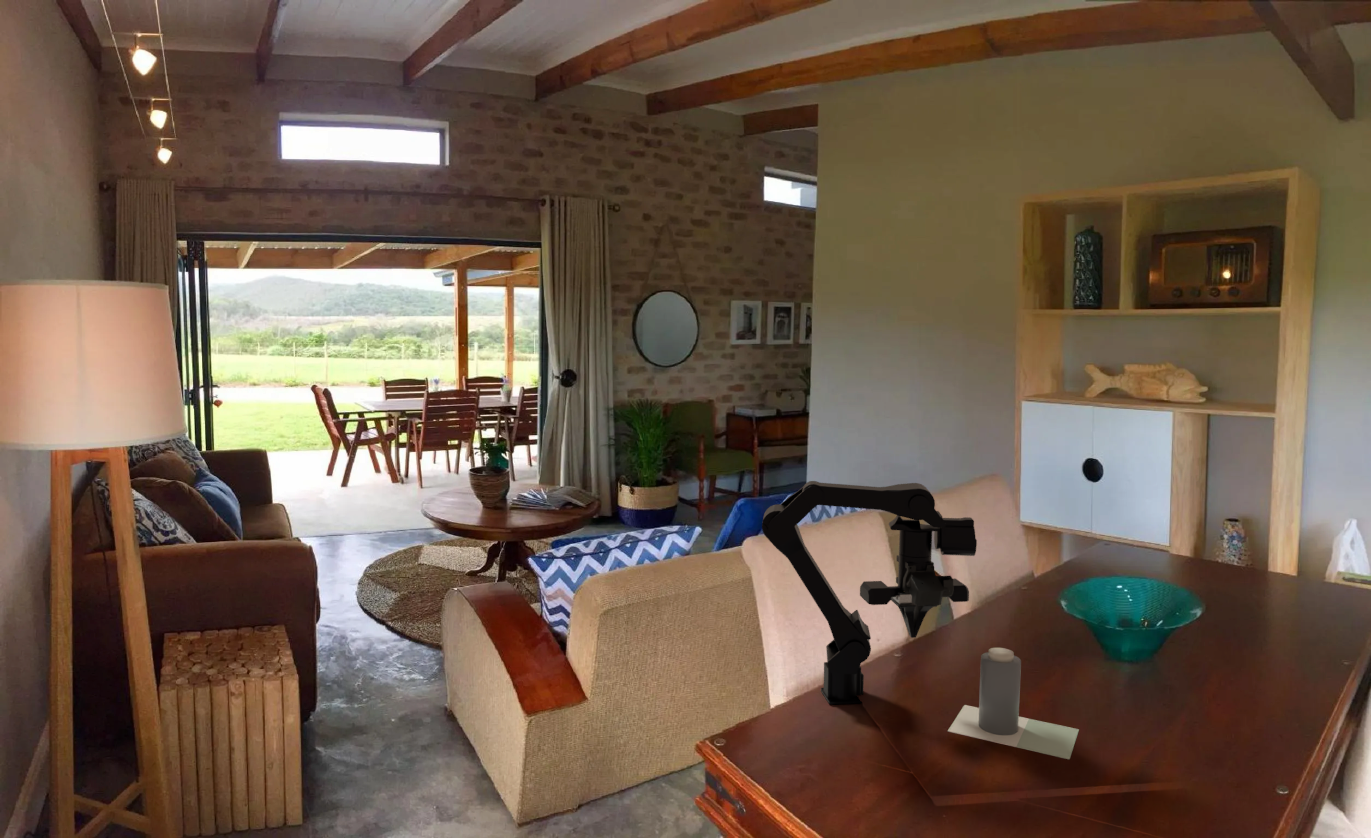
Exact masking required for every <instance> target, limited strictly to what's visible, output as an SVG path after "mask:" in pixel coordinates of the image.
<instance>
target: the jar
mask: <svg viewBox="0 0 1371 838" xmlns="http://www.w3.org/2000/svg"><path fill="white" fill-rule="evenodd" d="M1014 653H1015V652H1014V651H1013V650H1011V649H1008V648H1005V647H991V648H989V649H988V652H987V651H986V652H984V653H982V654H980V669H979V670H980V671H979V672H980V675H979V676H980V677H979V698H978V699H979V700H978V708H979V720H978V725H979V727H980V728H981V729H982V730H984V731H986V732H988V733H991V734H996V735H1013V734H1015V733H1017V732H1018V722H1019V717H1020V716H1019V715H1020V695H1021V694H1020V693H1021V692H1020V691H1021V670H1022V659H1021V658H1020V657H1018V656H1017V655H1014Z"/></svg>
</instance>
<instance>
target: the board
mask: <svg viewBox="0 0 1371 838" xmlns="http://www.w3.org/2000/svg"><path fill="white" fill-rule="evenodd" d="M978 720H979V707H977V706H971V705H967V704H964V705H963V706H962V708H961V710H960V711H959V712H958V714H957V716H956V717H955V719H954V721H953V722H952V724H951V725H950V727H949V728H948V730H947V732H949V733H953V734H956V735H957V734H958V735H960V736H961V735H962V736H966V737H971V738H973V739H980V740H984V741H986V742H987V741H988V742H992V743H997V744H1001V745H1006V746H1009V747H1014V748H1018V749H1023V750H1027V751H1032V752H1036V753H1040V754H1043V755H1048V756H1053V757H1056V758H1061V759H1065V760H1066V759H1067V760H1070V759H1071V756H1072V753H1073V750H1074V748H1075V747H1074V746H1075V743H1076V741H1077V737H1078V734H1079V731H1080V729H1078V728H1075V727H1074V728H1073V727H1069V726H1065V725H1060V724H1056V723H1051V722H1045V721H1041V720H1039V719H1038V720H1036V719H1033V718H1027V717H1023V716H1019V722H1018V732H1017V733H1015V734H1013V735H996V734H991V733H988V732H986V731H984V730H982V729H981V728H980V727H979V725H978Z"/></svg>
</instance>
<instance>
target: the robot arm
mask: <svg viewBox="0 0 1371 838" xmlns="http://www.w3.org/2000/svg"><path fill="white" fill-rule="evenodd" d="M817 506H827V507H839V508H840V507H841V508H852V509H864V510H865V509H866V510H875V511H877V510H879V511H882V512H887V513H890V514H893V515H896V517H895V518H894V519H892V520H891V521H890V522H888V526H889V528H890V530H891V531H899V535H898V536H899V539H898V541H899V542H898V555H896V562H898V571H897V572H898V573H897V574H898V575H897V576H896V577H895V583H896V584H897V585H894V586H892V585H891V586H888V585H887V584H886V583H884V582H883V581H882V580H868V581H863V582H862V583H861V584H860V587H859V596H860V597H861V598H862V599H863V601H865V602H866V603H867V604H868V605H871V606H881V605H888V604H889V603H890V602H893V603H894V605H896V606H897V607H898V609H899V611H900V613H901V615H902V619H903V621H904V624H905V627H906V630H907V632H908V635H909V637H910V638H911V639H912V638H913V639H915V638H916V637H918V636H917V635H918V633H919V632H920V631H919V630H920V629H921V627H922V624H923V622H924V620H925V619H924V618H925V617H926V616H927V614H928V612H929V611H930V610H932V608H936V607H938V606H941V605H942V602H943V599H944V598H949V600H951V601H952V602H953V603H965V602H967V603H968V602H969V600H970V590H969V588H968V587H967V585H965V584H964V583H963V582H961V581H960V580H958V579H957V578H953V577H952V575H936V573H935V572H936V571H935V564H934V561H932V553H933V552H932V551H933V549H932V547H933V545H932V544H933V543H934V549H935V550H940V554H941V555H942V556H962V557H963V556H966V557H975V555H976V552H977V545H978V543H977V541H978V540H977V538H976V529H975V521H974V518H972V517H968V516H967V517H958V518H956V517H943V515H942V514H941V512H940V511H939V510H936V508H935V507H936V501H935V498H934V496H933V494H932V493H931V492H930V490H929V489H928V488H927V487H926V486H925V485H923V484H922V483H918V482H911V483H910V482H909V483H907V482H906V483H898V484H894V485H888V486H869V485H857V484H842V483H831V482H830V483H829V482H828V483H827V482H819V481H816V480H810V481H808V482H806V483H805V484H804V485H803V486H802V487H801V488H800V489H799V490H798V491H796V492H794V493H793V494H792V495H790V496H788V498H786V499H785V500H784V501H782V502H781V503H780V504H773V505H770V506H769V507H768V508H767V509H766V510H765V512H764V514H763V517H762V518H763V519H762V523H761V530H762V533H763V535H764V536H765V537H766V539H767V540H768V541H769V542H770V543H771V544H772V545H773V546H774V547H775V549H776V550H778V551H779V552H780V553H781V554H782V555H783V556H785V558H787V559H788V561H789V562H790V565H791V566H792V567H793V569H794V570H795V572H796V574H797V575H798V577H799V578H800V580H801V581H802V583H803V585H804V587H805V588H806V589H807V592H808V593H809V595H810V596H811V598H812V599H813V601H814V602H815V604H816V606H817V607H818V608H819V610H820V612H821V613H822V615H823V617H824V618H825V620H826V621H827V623H828V627H829V630H830V632H831V634H832V635H831V636H832V637H833V639H832V641H830V642H829V643H828V644H827V645H826V661H824V662H823V687H821V688H820V692H821V693H822V695H823V697H824V698H825V699H826V701H827V703H828V704H829V705H846V704H848V705H849V704H862V703H863V702H862V700H861V699H860V698H859V696H862V695H864V680H865V677H864V674H863V672H862V666H861V664H862V663H864V662H865V661H866V660H868V658H869V657H870V655H871V652H872V648H871V641H870V640H871V639H872V637H871V633H870V629H869V625H867V624H866V623H865V622H864V621H863V620H862V617H861V615H860V613H859V611H858V609H855V610H854V611H853V612H852V613H851V612H850V611H849V610H848V609H847V608H846V607H845V606H844V605H843V603H842V602H841V601H840V598H839V597H838V596H837V594H836V593H835V591H834V589H833V587H832V586H831V584H830V582H829V581H828V580H827V578H826V577H825V575H824V573H823V572H822V570H821V569H820V567H819V565H818V563H817V562H816V561H815V559H814V558H813V555H812V554H811V552H809V549H808V548H807V546H806V544H805V542H804V540H803V539H804V538H803V536H802V533H801V531H800V528H799V526H798V524H799V523H800V522H801V521H802V520H803V519H804V518H805V517H807V515H808V514H809V513H810V512H812V510H813V509H815V508H816V507H817ZM905 518H906V519H905ZM921 521H924V522H925V523H926V524H924V523H920V522H921ZM933 533H934V534H933ZM933 536H934V537H933ZM932 538H933V539H932ZM932 541H933V542H932Z"/></svg>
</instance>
